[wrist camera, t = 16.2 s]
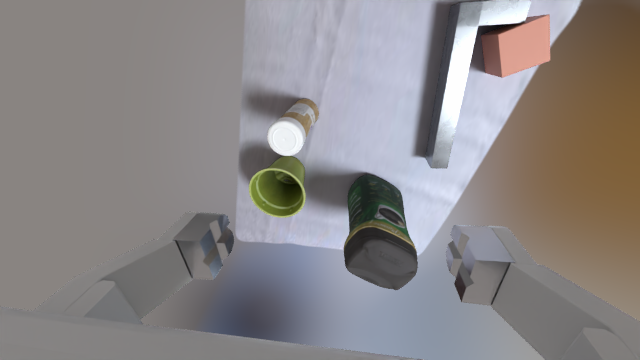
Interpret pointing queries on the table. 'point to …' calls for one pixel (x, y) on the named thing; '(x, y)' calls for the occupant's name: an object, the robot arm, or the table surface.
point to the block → (517, 46)
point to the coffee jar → (378, 235)
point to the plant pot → (279, 188)
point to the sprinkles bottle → (293, 128)
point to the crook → (462, 66)
